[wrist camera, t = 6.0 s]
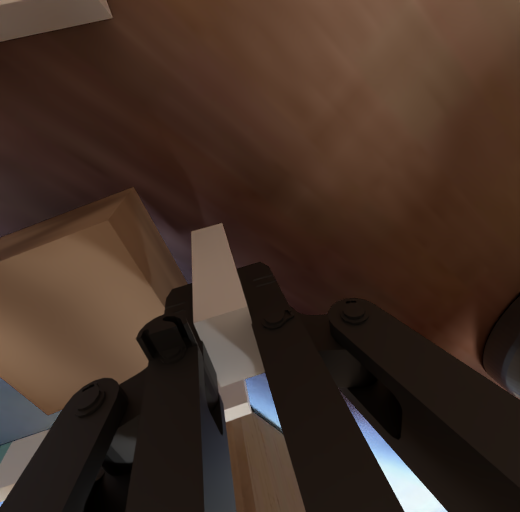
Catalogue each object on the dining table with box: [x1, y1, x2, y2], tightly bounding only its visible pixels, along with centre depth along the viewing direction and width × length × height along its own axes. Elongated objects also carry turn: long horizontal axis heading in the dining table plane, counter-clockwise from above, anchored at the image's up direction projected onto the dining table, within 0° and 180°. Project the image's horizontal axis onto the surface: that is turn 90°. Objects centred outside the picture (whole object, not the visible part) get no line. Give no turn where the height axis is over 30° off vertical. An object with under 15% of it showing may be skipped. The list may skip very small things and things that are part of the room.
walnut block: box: [0, 187, 187, 415], centre depth 13 cm, size 7×7×5 cm
